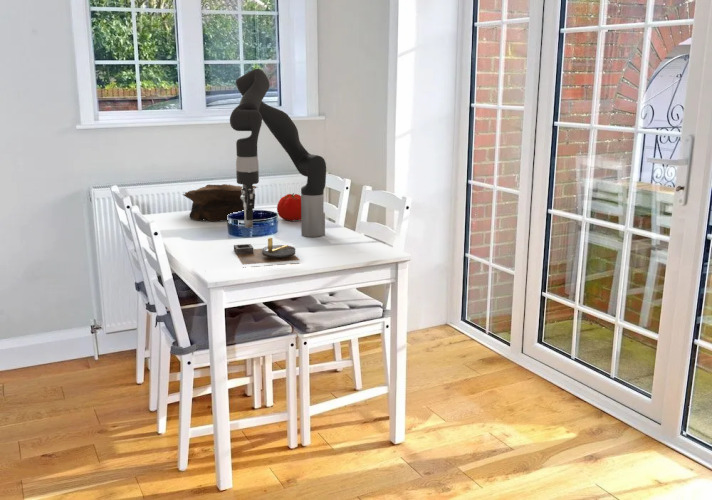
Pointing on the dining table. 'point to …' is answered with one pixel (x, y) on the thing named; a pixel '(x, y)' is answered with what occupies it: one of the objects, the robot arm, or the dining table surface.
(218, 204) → the brown irregular lump
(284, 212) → the tomato
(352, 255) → the dining table surface
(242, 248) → the board
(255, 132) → the robot arm
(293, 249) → the handwheel
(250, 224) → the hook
